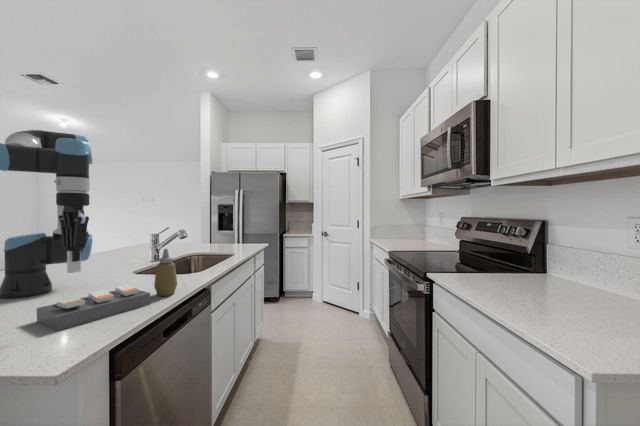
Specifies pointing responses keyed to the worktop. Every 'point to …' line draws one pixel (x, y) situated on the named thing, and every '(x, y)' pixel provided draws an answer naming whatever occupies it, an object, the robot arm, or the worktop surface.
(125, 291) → the rocker
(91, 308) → the power strip
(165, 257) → the squeeze bottle
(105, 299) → the middle rocker
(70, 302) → the rocker
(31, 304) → the worktop surface
